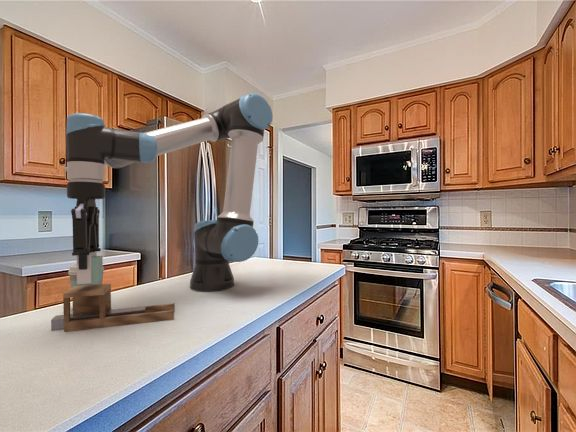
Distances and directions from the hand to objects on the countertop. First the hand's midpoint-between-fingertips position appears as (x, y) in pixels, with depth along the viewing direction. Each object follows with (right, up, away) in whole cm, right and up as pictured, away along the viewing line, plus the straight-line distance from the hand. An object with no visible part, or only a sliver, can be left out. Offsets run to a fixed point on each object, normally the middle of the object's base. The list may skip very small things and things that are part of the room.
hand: (87, 280), depth 74 cm
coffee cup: (-8, -10, +13) cm, 19 cm away
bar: (+3, -11, +1) cm, 11 cm away
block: (+1, 0, 0) cm, 1 cm away
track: (+7, -10, +3) cm, 13 cm away
